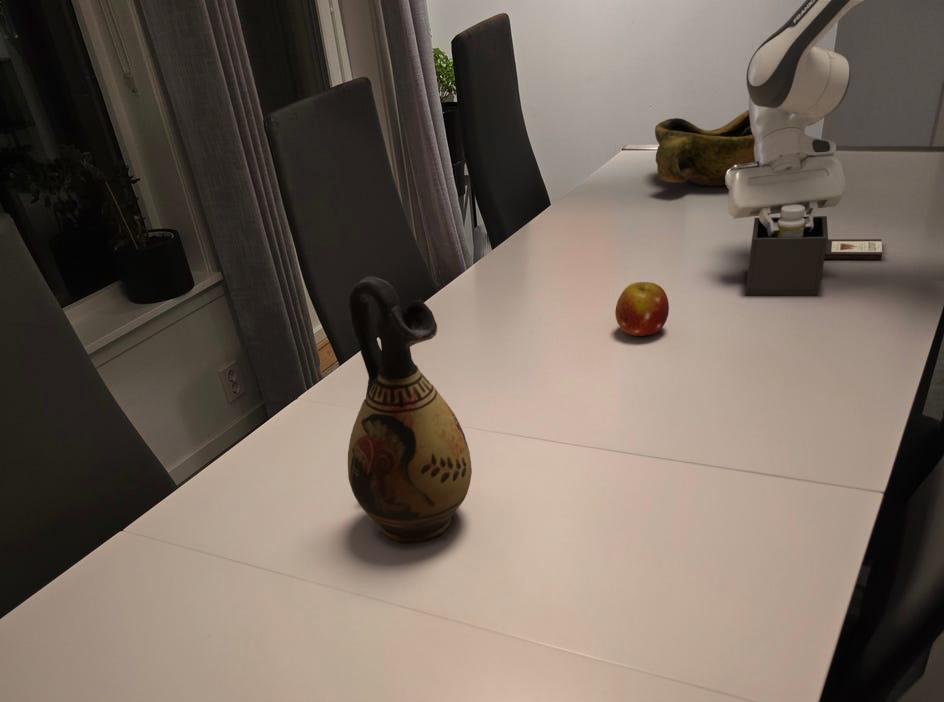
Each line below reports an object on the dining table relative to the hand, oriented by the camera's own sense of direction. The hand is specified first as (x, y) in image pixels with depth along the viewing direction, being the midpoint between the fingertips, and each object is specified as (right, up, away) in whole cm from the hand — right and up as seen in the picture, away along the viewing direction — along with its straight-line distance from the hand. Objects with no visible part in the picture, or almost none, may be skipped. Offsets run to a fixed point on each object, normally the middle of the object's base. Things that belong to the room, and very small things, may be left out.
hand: (791, 232), depth 150 cm
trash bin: (+1, -6, +7) cm, 9 cm away
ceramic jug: (-65, -58, -41) cm, 97 cm away
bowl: (+4, +44, +64) cm, 78 cm away
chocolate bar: (+14, +4, +16) cm, 22 cm away
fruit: (-28, -20, -4) cm, 34 cm away
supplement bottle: (0, -3, +3) cm, 5 cm away
